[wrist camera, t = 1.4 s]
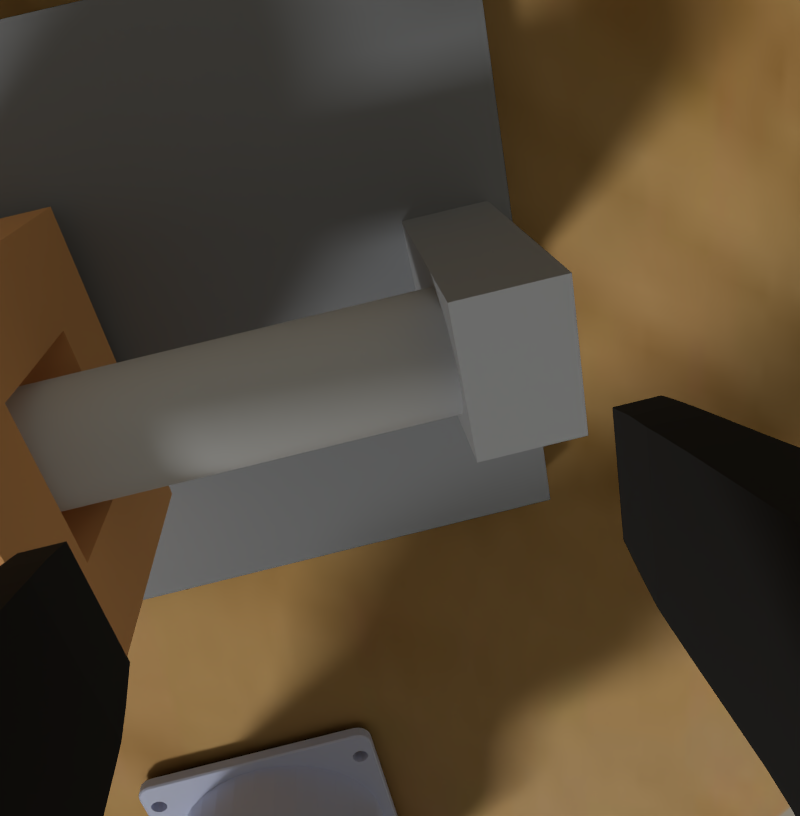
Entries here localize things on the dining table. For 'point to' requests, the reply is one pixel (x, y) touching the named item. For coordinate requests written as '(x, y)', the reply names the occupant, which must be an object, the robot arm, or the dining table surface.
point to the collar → (7, 451)
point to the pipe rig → (286, 273)
